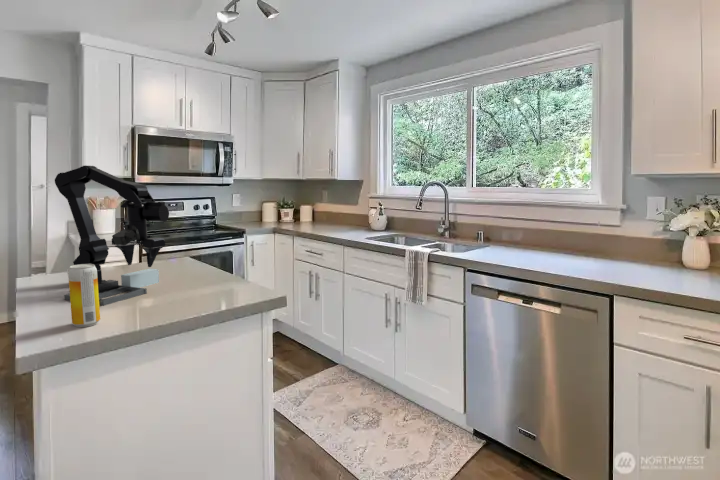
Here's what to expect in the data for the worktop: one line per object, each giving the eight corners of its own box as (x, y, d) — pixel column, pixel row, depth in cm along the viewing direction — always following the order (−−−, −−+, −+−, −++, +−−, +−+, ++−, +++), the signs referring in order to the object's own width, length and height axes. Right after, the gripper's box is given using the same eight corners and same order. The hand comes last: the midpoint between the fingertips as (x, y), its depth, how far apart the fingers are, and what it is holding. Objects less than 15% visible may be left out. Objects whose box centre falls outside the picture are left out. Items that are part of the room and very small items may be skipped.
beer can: (93, 318, 114) (89, 262, 112) (105, 323, 110) (101, 265, 109) (67, 324, 109) (63, 266, 107) (79, 329, 106) (74, 269, 104)
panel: (121, 289, 146) (121, 274, 145) (150, 282, 157) (149, 268, 156) (130, 290, 144) (129, 275, 144) (159, 283, 155) (158, 269, 155)
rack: (62, 300, 131) (61, 288, 131) (109, 288, 146) (108, 278, 145) (101, 306, 125) (101, 294, 125) (146, 293, 140) (146, 282, 140)
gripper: (95, 221, 143) (98, 267, 145) (138, 224, 137) (140, 272, 139) (124, 219, 154) (127, 262, 156) (165, 221, 147) (167, 266, 149)
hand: (139, 265), depth 150 cm, fingers open, 9 cm apart
